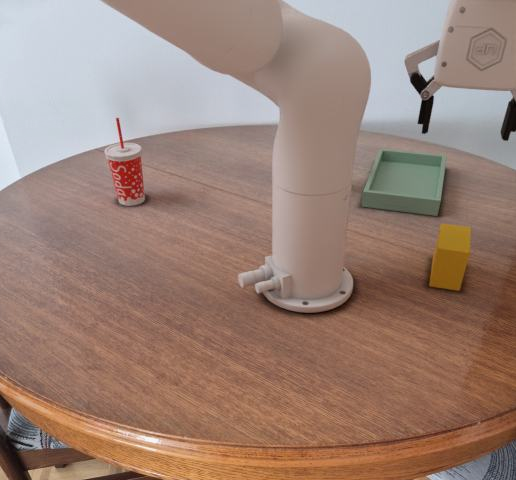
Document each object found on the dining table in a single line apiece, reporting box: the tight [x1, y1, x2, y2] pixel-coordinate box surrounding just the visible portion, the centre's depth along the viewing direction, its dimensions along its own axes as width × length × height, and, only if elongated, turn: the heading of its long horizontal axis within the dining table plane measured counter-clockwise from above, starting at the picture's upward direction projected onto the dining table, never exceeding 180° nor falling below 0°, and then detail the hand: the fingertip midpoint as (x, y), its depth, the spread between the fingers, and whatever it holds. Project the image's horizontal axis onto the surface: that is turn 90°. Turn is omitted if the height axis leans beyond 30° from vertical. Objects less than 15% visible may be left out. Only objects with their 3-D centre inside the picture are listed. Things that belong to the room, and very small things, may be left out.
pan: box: [361, 148, 448, 217], centre depth 97 cm, size 20×13×3 cm, turn 163°
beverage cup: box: [104, 117, 146, 207], centre depth 91 cm, size 6×6×14 cm
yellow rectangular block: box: [428, 222, 472, 292], centre depth 75 cm, size 7×4×6 cm, turn 163°
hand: (463, 133), depth 69 cm, fingers open, 9 cm apart
